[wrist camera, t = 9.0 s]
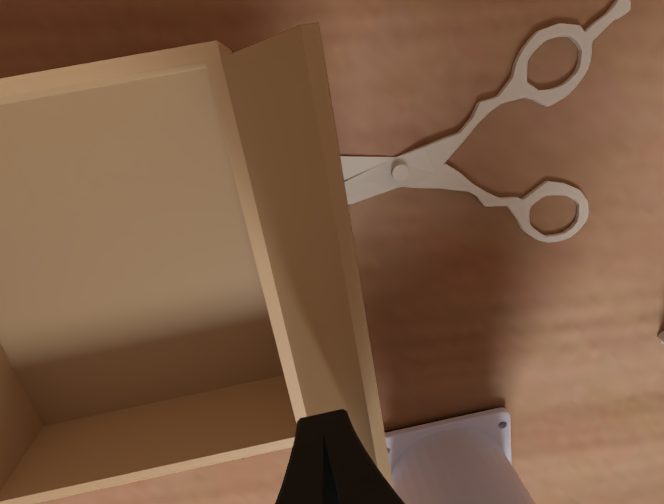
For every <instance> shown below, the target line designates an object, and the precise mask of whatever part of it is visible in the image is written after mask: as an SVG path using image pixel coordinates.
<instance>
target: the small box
mask: <svg viewBox="0 0 664 504" xmlns="http://www.w3.org/2000/svg"><path fill="white" fill-rule="evenodd" d="M658 339H659V340H660V341H661V343H662V344H663V345H664V331H662V332H661V333H660V334H659V335H658Z"/></svg>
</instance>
